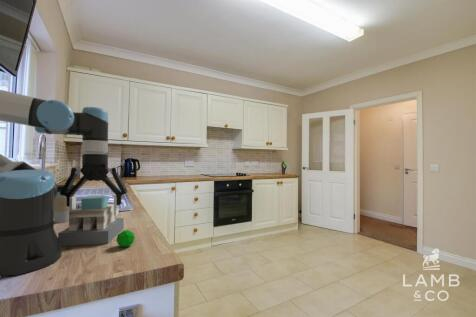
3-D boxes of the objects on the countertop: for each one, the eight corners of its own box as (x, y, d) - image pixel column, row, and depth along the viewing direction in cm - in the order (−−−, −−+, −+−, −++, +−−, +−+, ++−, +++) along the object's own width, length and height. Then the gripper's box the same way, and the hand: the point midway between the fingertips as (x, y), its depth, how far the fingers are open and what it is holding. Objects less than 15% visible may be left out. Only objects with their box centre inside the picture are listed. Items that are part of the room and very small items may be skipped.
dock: (108, 243, 73) (108, 231, 73) (58, 246, 70) (58, 233, 70) (123, 228, 89) (123, 218, 89) (83, 230, 86) (83, 219, 86)
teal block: (101, 208, 77) (101, 198, 77) (81, 209, 76) (81, 198, 76) (107, 205, 83) (107, 195, 83) (89, 205, 82) (89, 195, 82)
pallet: (103, 229, 75) (103, 210, 75) (68, 230, 73) (69, 211, 73) (116, 219, 86) (116, 203, 86) (86, 220, 85) (86, 204, 84)
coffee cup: (65, 224, 94) (66, 187, 94) (42, 223, 94) (43, 186, 94) (82, 218, 103) (82, 184, 103) (61, 217, 103) (61, 184, 103)
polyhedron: (127, 242, 75) (127, 227, 75) (138, 245, 72) (138, 229, 72) (113, 247, 70) (113, 231, 70) (123, 250, 68) (123, 234, 68)
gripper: (136, 154, 86) (136, 211, 86) (60, 153, 81) (60, 213, 81) (131, 153, 78) (130, 216, 78) (47, 152, 74) (46, 219, 74)
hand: (94, 215), depth 80 cm, fingers open, 13 cm apart
